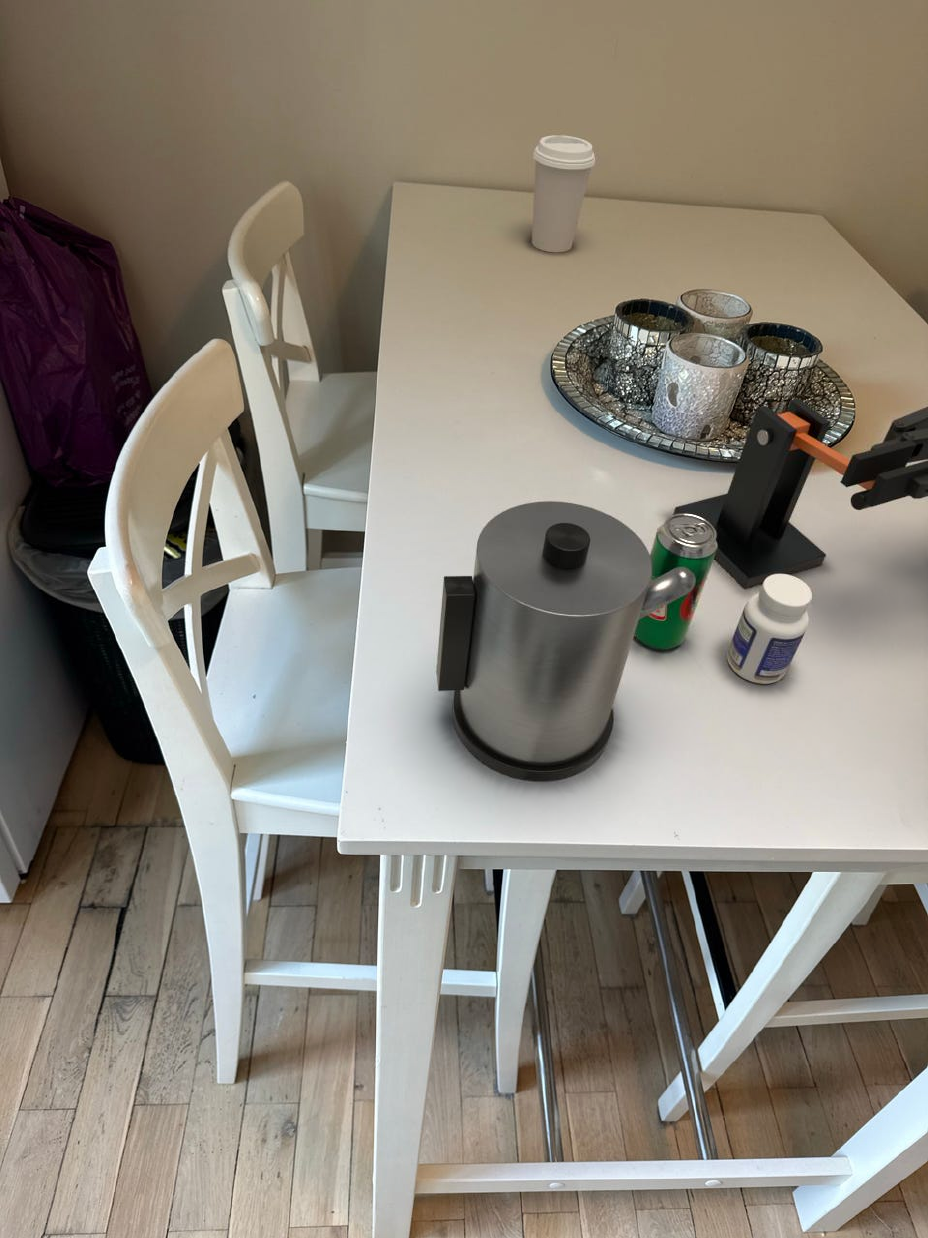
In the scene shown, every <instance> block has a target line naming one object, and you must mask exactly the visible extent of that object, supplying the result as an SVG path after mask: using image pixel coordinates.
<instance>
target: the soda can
mask: <svg viewBox="0 0 928 1238" xmlns="http://www.w3.org/2000/svg"><path fill="white" fill-rule="evenodd" d="M716 537H717V533H716V530H715V528H714V527H713V525H712V524H711V523H709V522H708V521H707V520H705V519H703V518H701V517H699V516H696V515H692V514H675V515H673V514H672V515H669V516H668V517H667V518H666V519H665V520H664V522H663V524H661V525H660V526H659V527H658V528H657V531H656V533H655V537H654V539H653V542H652V547H651V550H650V552H649V554H650V558H651V561H652V577H651V580H650V582H651V581H653V580H654V579H656V578H658V577H660V576H662V575H664V574H665V573H667V572H669V571H671V570H673V569H674V568H677V567H685V568H688V569H690V570H691V571H692V572H693V574H694V576H695V586H694V588H693V589H692V590H691V591H690V592H689V593H687V594H685V595H684V596H682V597H680V598H678V599H676V600H674V601H672V602H671V603H669V604H667V605H665V606H663V607H661V608H659V609H658V610H656V611H654V612H652V613H650V614H648V615H646V616H645V617H643V618H641V619H639V620H638V623H637V627H636V630H635V633H634V637H635V638H636V639H637V640H638V641H639V642H640V643H641V644H643V645H645V646H647V647H649V648H652V649H655V650H668V649H669V650H670V649H673V648H676V647H678V646H680V645H681V644H683V643H684V641H685V640H686V637H687V634H688V631H689V629H690V626H691V623H692V621H693V618H694V616H695V612H696V610H697V607H698V604H699V601H700V598H701V595H702V593H703V590H704V587H705V585H706V582H707V579H708V576H709V573H710V571H711V567H712V566H713V565H712V564H713V562H714V560H715V559H714V557H715V554H716V551H717V548H718V544H717V540H716Z"/></svg>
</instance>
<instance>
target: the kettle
mask: <svg viewBox="0 0 928 1238" xmlns="http://www.w3.org/2000/svg"><path fill="white" fill-rule="evenodd" d="M475 549H476V550H475V557H474V558H475V559H474V566H473V567H474V568H473V576H472V575H444V576H443V584H442V597H441V606H440V607H441V609H440V621H439V635H438V645H437V658H436V671H435V672H436V673H435V675H436V682H437V683H436V684H437V691H438V692H452V691H453V699H452V721H453V726H454V728H455V731H456V733H457V736H458V737H459V739H460V741H461V742H462V743H463V745H464V746H465V748H466V749H467V750H468V751H469V752H470V753H471V755H473V757H475V758H476V759H478V760H479V762H481V763H482V764H484V765H485V766H487V767H489V768H490V769H492V770H494V771H496V772H498V773H500V774H503V775H505V776H509V777H511V778H515V779H519V780H525V781H532V782H533V781H534V782H547V781H558V780H561V779H566V778H569V777H572V776H574V775H576V774H579V773H581V772H583V771H585V770H586V769H588V768H589V767H590V766H592V765H593V764H594V763H595V762H596V761H597V760H599V758H600V757H601V755H602V754H603V753H604V752H605V751H606V748H607V746H608V744H609V741H610V738H611V735H612V733H613V728H614V721H615V719H614V709H613V706H614V702H615V699H616V696H617V692H618V689H619V686H620V684H621V679H622V677H623V674H624V673H623V672H624V671H625V667H626V664H627V663H626V662H627V661H628V660H627V659H628V656H629V653H630V649H631V646H632V643H633V640H634V637H635V635H634V633H635V630H636V627H637V623H638V620H639V619H641V618H643V617H645V616H646V615H648V614H650V613H652V612H654V611H656V610H658V609H659V608H661V607H663V606H665V605H667V604H669V603H671V602H672V601H674V600H676V599H678V598H680V597H682V596H684V595H685V594H687V593H689V592H690V591H691V590H692V589H693V588H694V586H695V576H694V574H693V572H692V571H691V570H690V569H688V568H685V567H677V568H674V569H673V570H671V571H669V572H667V573H665V574H664V575H662V576H660V577H658V578H656V579H654V580H653V581H651V582H650V580H651V577H652V561H651V558H650V552H649V550H648V548H647V546H646V545H645V543H644V541H643V540H642V539H641V538H640V536H638V535H637V533H636V532H634V530H633V529H631V528H630V527H629V526H628V525H626V523H623V522H622V521H621V520H619V519H617V518H616V517H613V516H612V515H610V514H608V513H605V512H604V511H601V510H599V509H596V508H593V507H590V506H587V505H582V504H578V503H574V502H566V501H555V500H554V501H553V500H551V501H550V500H546V501H534V502H527V503H523V504H518V505H516V506H513V507H510V508H508V509H505V510H503V511H501V512H500V513H498V514H496V515H495V516H494V517H493V518H491V519H490V520H489V521H488V522H487V523H486V525H485V526H484V527H483V528H482V530H481V531H480V533H479V535H478V539H477V543H476V548H475Z"/></svg>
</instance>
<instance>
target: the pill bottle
mask: <svg viewBox="0 0 928 1238" xmlns="http://www.w3.org/2000/svg"><path fill="white" fill-rule="evenodd" d="M761 584H762V585H761V586H760V589H759V591H758V593H755V594H754V595H753V596H750V597H749V599H748V600H747V602H746V603H745V606H744V608H743V610H742V613H741V615H740V618H739V620H738V623H737V624H736V628H735V629H734V633H733V635H732V638H731V641H730V642H729V645H728V648H727V650H726V651H727V652H726V658H727V662H728V665H729V666H730V668H731V669H732V670H733V671H734V672H735V673H736V674H737V675H738V676H740V678H743V679H745V680H747V681H750V682H752V683H756V684H762V685H765V684H766V685H767V684H773V683H776V682H778V681H780V680H781V679H783V678H784V676H785V675H786V674H787V672H788V669H789V667H790V666H791V663H792V662H793V659H794V657H795V655H796V653H797V650H798V649H799V646H800V644H801V643H802V641H803V638H804V636H805V634H806V632H807V630H808V627H809V624H810V618H809V614H808V611H807V610H808V609H809V606H810V604H811V602H812V599H813V594H812V593H813V592H812V590H811V588H810V587H809V586H808V584H807V583H806V582H804V581H803V580H802V579H800V578H798V577H797V576H794V575H792V574H789V575H787V574H774V575H771V576H769V577H767V578H766V579H765V580H764V582H763V583H761Z"/></svg>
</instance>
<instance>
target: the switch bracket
mask: <svg viewBox="0 0 928 1238" xmlns="http://www.w3.org/2000/svg"><path fill="white" fill-rule="evenodd" d="M786 412H791V413H792V414H794V415H796V416H797V417H799V418H801V419H803V420H804V421H806V422H808V423H809V424H810V427H809V430H808V434H807V435H809V436H811V437H812V438H814V439H816V440H817V441H819V442H821V443H822V444H823V442H824V439H825V437H826V435H827V432H828V429H829V428H830V426H831V421H830V420H829V419H827V418H826V417H825V416H823V415H822V414H820V413H819V412H818V411H816V410H815V409H814V408H812V407H811V406H809V405H808V404H807V403H805V402H804V401H802V400H801V399H800V398H795V399H791V400H789V404H788V407H787V410H786ZM796 433H797V430H796V429H795V428H794V427H793V426H791V425H790V424H789V423H787V422H786V421H785V420H784V419H782V418H781V417H780V416H778V415H777V413H776V412H775V411H773V410H772V409H771V408H770V407H768V406H767V405H761V406H758V407H757V408H756V411H755V413H754V416H753V419H752V421H751V424H750V428H749V431H748V434H747V435H746V436H747V437H746V439H745V442H744V444H743V447H742V451H741V453H740V456H739V459H738V462H737V464H736V468H735V470H734V473H733V476H732V479H731V482H730V485H729V488H728V491H727V493H724V494H719V495H716V496H713V497H708V498H705V499H701V500H697V501H694V502H693V501H692V502H689V503H687V504H686V503H685V504H682V505H679V506H675V507H674V510H673V513H672V515H675V514H692V515H696V516H699V517H701V518H703V519H705V520H707V521H708V522H709V523H711V524H712V525H713V527H714V528H715V530H716V533H717V537H716V540H717V544H718V548H717V551H716V554H715V557H714V560H715V561H716V562H717V563H718V564H719V565H720V566H721V567H722V568H724V570H725V571H726V572H727V573H728V574H729V575H730V576H731V577H732V578H733V579H734V580H735V581H736V582H737V583H738V584H739V585H741V587H742V588H743V589H747V588H748V589H749V588H751V587H754V586H758V585H760V584H763V582H764V580H765V579H766V578H767V577H769V576H771V575H774V574H787V575H792V574H795V573H798V572H799V573H800V572H802V571H805V570H808V569H812V568H815V567H818V566H822V565H823V563H824V561H825V559H826V557H827V554H826V553H825V552H824V551H823V550H822V549H820V548H819V547H818V546H817V545H816V544H815V543H814V542H812V541H811V539H809V538H808V537H807V536H806V535H804V534H803V533H802V532H801V531H800V530H799V529H798V528H797V527H795V525H794V524H792V523H791V522H790V519H791V518H792V515H793V512H794V510H795V508H796V506H797V503H798V501H799V498H800V496H801V494H802V492H803V489H804V488H805V484H806V482H807V480H808V477H809V475H810V472H811V470H812V467H813V465H814V463H815V461H816V458H814V457H813V456H811V455H810V454H808V453H806V452H805V451H803V450H802V449H800V448H799V449H795V450H791V451H789V450H790V448H791V445H792V443H793V440H794V438H795V435H796Z"/></svg>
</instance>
